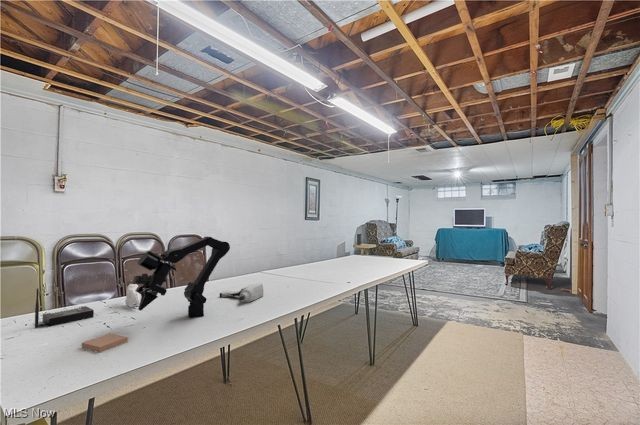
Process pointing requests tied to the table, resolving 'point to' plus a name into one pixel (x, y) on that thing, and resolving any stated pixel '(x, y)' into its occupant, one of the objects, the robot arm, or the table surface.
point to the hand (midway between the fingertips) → (139, 310)
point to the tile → (104, 342)
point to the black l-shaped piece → (62, 315)
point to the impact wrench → (246, 292)
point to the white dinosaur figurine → (132, 296)
